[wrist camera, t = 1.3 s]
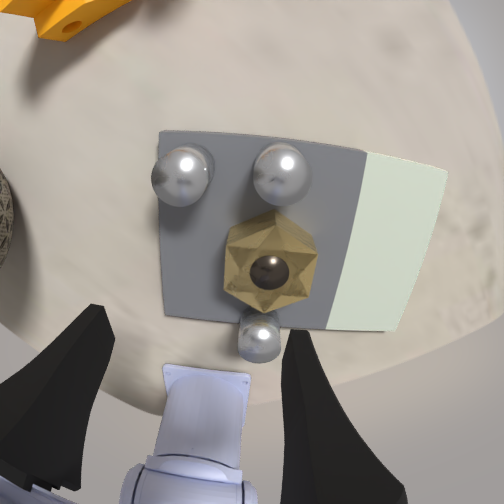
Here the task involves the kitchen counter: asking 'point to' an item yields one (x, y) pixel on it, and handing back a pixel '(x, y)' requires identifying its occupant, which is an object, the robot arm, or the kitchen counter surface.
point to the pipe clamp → (61, 14)
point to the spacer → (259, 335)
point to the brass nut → (269, 262)
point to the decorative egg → (5, 217)
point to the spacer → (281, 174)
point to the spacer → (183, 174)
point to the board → (311, 220)
